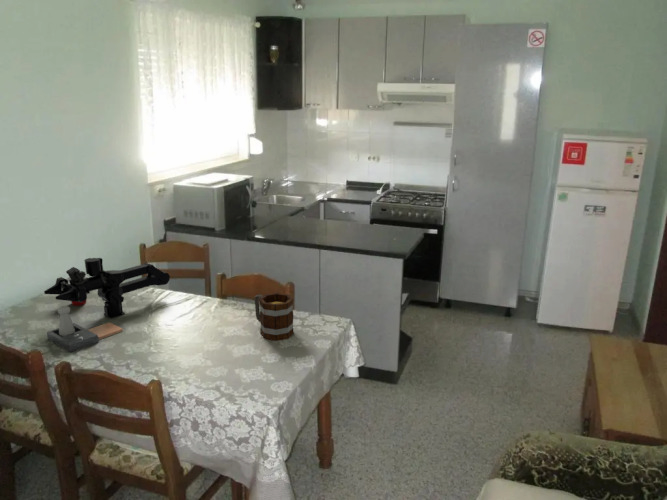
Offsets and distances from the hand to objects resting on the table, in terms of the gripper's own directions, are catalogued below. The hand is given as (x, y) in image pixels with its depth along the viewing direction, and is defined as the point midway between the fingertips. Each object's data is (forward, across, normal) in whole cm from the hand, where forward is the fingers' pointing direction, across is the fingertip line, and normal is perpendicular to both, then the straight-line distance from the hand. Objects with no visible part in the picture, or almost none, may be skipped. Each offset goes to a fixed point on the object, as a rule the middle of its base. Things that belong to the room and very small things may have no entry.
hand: (49, 295), depth 212 cm
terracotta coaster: (-13, +13, +16) cm, 25 cm away
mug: (-56, +65, +17) cm, 88 cm away
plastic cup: (-22, -24, +17) cm, 37 cm away
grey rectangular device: (-1, +11, +16) cm, 20 cm away
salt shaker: (-1, +7, +17) cm, 18 cm away
